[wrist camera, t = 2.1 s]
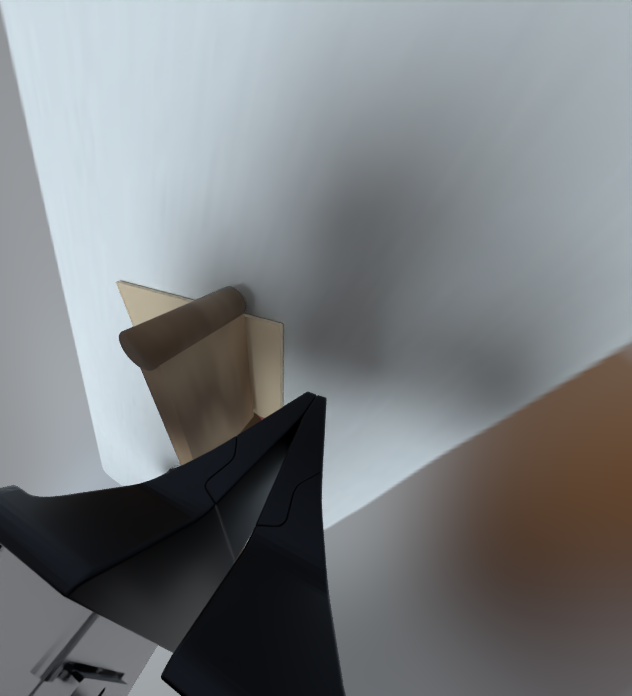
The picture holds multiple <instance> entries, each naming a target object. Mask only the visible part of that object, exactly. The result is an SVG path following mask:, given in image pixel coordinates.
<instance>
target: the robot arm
mask: <svg viewBox="0 0 632 696" xmlns="http://www.w3.org/2000/svg"><path fill="white" fill-rule="evenodd" d="M325 419H326V398H325V397H322V396H319V395H316V394H313V393H310V392H306V393H304V394H303V395H301V396H300V397H298V398H296V399H295V400H293V401H291V402H290V403H288V404H287V405H285V406H283V407H282V408H280V409H279V410H277V411H275V412H274V413H272V414H270V415H269V416H267V417H266V418H264V419H262V420H261V421H259V422H257V423H256V424H254V425H253V426H251V427H249V428H248V429H246V430H245V431H243V432H241V433H240V434H238V435H237V436H235V437H233V438H231V439H230V440H228V441H227V442H225V443H223V444H221V445H220V446H218V447H216V448H215V449H213V450H211V451H209V452H207V453H205V454H203V455H201V456H199V457H198V458H196V459H193V460H191V461H189V462H187V463H185V464H183V465H181V466H179V467H177V468H175V469H173V470H172V469H170V470H169V471H168V472H167V473H165V474H163V475H161V476H159V477H157V478H155V479H152V480H150V481H146V482H143V483H140V484H136V485H130V486H123V487H116V488H109V489H103V490H96V491H89V492H83V493H76V494H69V495H62V496H53V497H39V496H33V495H30V494H28V493H27V492H25V491H24V490H22V489H21V488H19V487H18V486H15V485H12V486H7V487H3V488H0V696H127V695H128V694H129V692H130V690H131V688H132V687H133V685H134V684H135V682H136V680H137V678H138V677H139V675H140V674H141V672H142V670H143V669H144V667H145V665H146V664H147V662H148V661H149V659H150V657H151V656H152V654H153V652H154V651H155V649H156V647H157V646H158V645H159V646H161V647H163V648H165V649H167V650H169V651H171V652H173V655H172V656H171V658H170V660H169V662H168V664H167V665H166V667H165V669H164V671H163V673H162V675H161V679H162V680H163V681H164V682H165V683H167V684H168V685H169V686H170V687H171V688H173V689H174V690H175V691H176V692H177V693H179V694H180V695H181V696H346V694H345V690H344V686H343V679H342V673H341V667H340V660H339V654H338V648H337V642H336V636H335V630H334V623H333V617H332V611H331V604H330V597H329V590H328V581H327V570H326V557H325V545H324V531H323V517H322V476H323V474H322V472H323V456H324V437H325ZM253 529H254V530H253ZM252 531H253V532H252ZM251 533H252V534H251ZM250 535H251V536H250ZM249 536H250V538H249ZM248 538H249V540H248ZM247 540H248V542H247ZM246 542H247V544H246ZM245 544H246V546H245V548H244V549H243V547H244V545H245ZM242 549H243V551H242ZM241 551H242V552H241ZM240 552H241V554H240ZM239 554H240V555H239ZM238 556H239V557H238ZM236 559H237V560H236ZM234 562H235V563H234Z"/></svg>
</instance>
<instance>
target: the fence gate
mask: <svg viewBox="0 0 632 696" xmlns="http://www.w3.org/2000/svg"><path fill="white" fill-rule="evenodd" d="M245 311H246V301H245V299H244V297H243V295H242V294H241V293H240V292H239V291H238V290H237V289H235V288H233V287H225V288H223V289H220V290H218V291H216V292H213V293H211V294H209V295H206V296H204V297H202V298H199V299H197V300H195V301H192V302H190V303H188V304H185V305H183V306H181V307H178V308H176V309H174V310H171V311H169V312H167V313H164V314H162V315H160V316H157V317H155V318H153V319H150V320H148V321H146V322H143V323H141V324H139V325H136V326H134V327H132V328H129V329H127V330H124V331H122V332H121V333H120V334H119V341H120V344H121V347H122V349H123V350H124V352H125V353H126V355H127V356H128V357H129V358H130V359H131V360H132V361H133V362H134V363H135V364H136V365H137V366H139V367H140V368H141V371H142V373H143V375H144V378H145V380H146V383H147V385H148V387H149V390H150V392H151V395H152V397H153V399H154V402H155V404H156V407H157V409H158V411H159V414H160V416H161V419H162V421H163V423H164V426H165V428H166V431H167V433H168V435H169V438H170V440H171V443H172V445H173V447H174V450H175V452H176V455H177V457H178V459H179V462H180V464H181V465H183V464H185V463H187V462H189V461H191V460H193V459H196V458H198V457H199V456H201V455H203V454H205V453H207V452H209V451H211V450H213V449H215V448H216V447H218V446H220V445H221V444H223V443H225V442H227V441H228V440H230V439H231V438H233V437H235V436H237V435H238V434H240V432H241V431H242V430H243V429H244V427H245V426H246V425H247V424H248V422H249V421H250V420H251V419H252V417H253V416H254V412H253V402H252V392H251V381H250V371H249V361H248V351H247V340H246V330H245V320H244V313H245Z"/></svg>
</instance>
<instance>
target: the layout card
mask: <svg viewBox="0 0 632 696" xmlns="http://www.w3.org/2000/svg"><path fill="white" fill-rule="evenodd" d="M116 284H117V286H118V289H119V291H120V294H121V296H122V299H123V301H124V304H125V307H126V309H127V312H128V314H129V317H130V319H131V322H132V325H133V327H134V326H136V325H139V324H141V323H143V322H146V321H148V320H150V319H153V318H155V317H157V316H160V315H162V314H164V313H167V312H169V311H171V310H174V309H176V308H178V307H181V306H183V305H185V304H188V303H190V302H192V301H195V300H191V299H187V298H184V297H180V296H176V295H172V294H169V293H165V292H161V291H157V290H153V289H150V288H146V287H142V286H138V285H135V284H131V283H127V282H123V281H117V282H116ZM244 320H245V330H246V340H247V351H248V361H249V371H250V381H251V392H252V402H253V412H254V413H256V414H257V415H258V416H259V417H260V418H261V420H262V419H264V418H266V417H267V416H269V415H270V414H272V413H274V412H275V411H277V410H279V409H280V408H282V407H283V324H282V323H278V322H274V321H270V320H267V319H263V318H259V317H255V316H252V315H248V314H244Z"/></svg>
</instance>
